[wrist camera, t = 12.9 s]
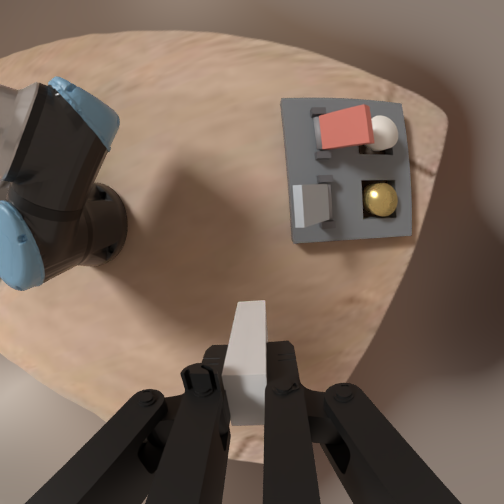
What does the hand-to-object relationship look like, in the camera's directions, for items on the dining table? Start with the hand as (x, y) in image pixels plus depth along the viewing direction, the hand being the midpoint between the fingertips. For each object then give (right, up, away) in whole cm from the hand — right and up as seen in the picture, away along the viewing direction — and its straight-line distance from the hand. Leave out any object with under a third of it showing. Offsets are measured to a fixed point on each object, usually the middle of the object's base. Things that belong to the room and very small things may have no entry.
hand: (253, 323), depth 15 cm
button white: (+19, +22, +21) cm, 36 cm away
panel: (+15, +17, +26) cm, 34 cm away
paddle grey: (+11, +11, +23) cm, 28 cm away
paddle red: (+10, +21, +21) cm, 31 cm away
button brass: (+20, +12, +26) cm, 35 cm away
